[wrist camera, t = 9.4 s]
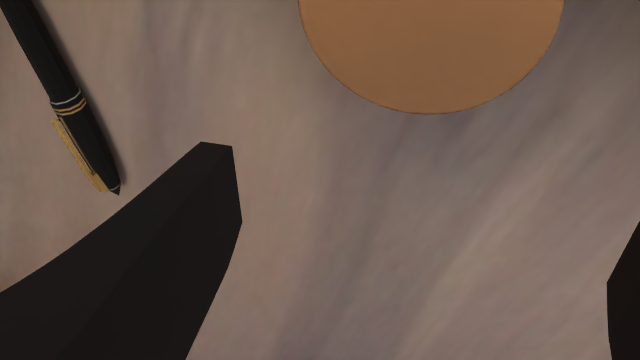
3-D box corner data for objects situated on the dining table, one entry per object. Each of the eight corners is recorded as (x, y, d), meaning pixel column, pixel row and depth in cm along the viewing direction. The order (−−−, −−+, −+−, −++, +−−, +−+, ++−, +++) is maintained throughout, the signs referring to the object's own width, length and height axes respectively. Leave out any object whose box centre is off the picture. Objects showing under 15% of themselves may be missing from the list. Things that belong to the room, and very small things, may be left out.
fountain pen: (-78, -171, 18) (-115, -157, 17) (-47, -177, 17) (-82, -163, 16) (114, 185, 27) (98, 208, 26) (136, 186, 27) (121, 209, 26)
